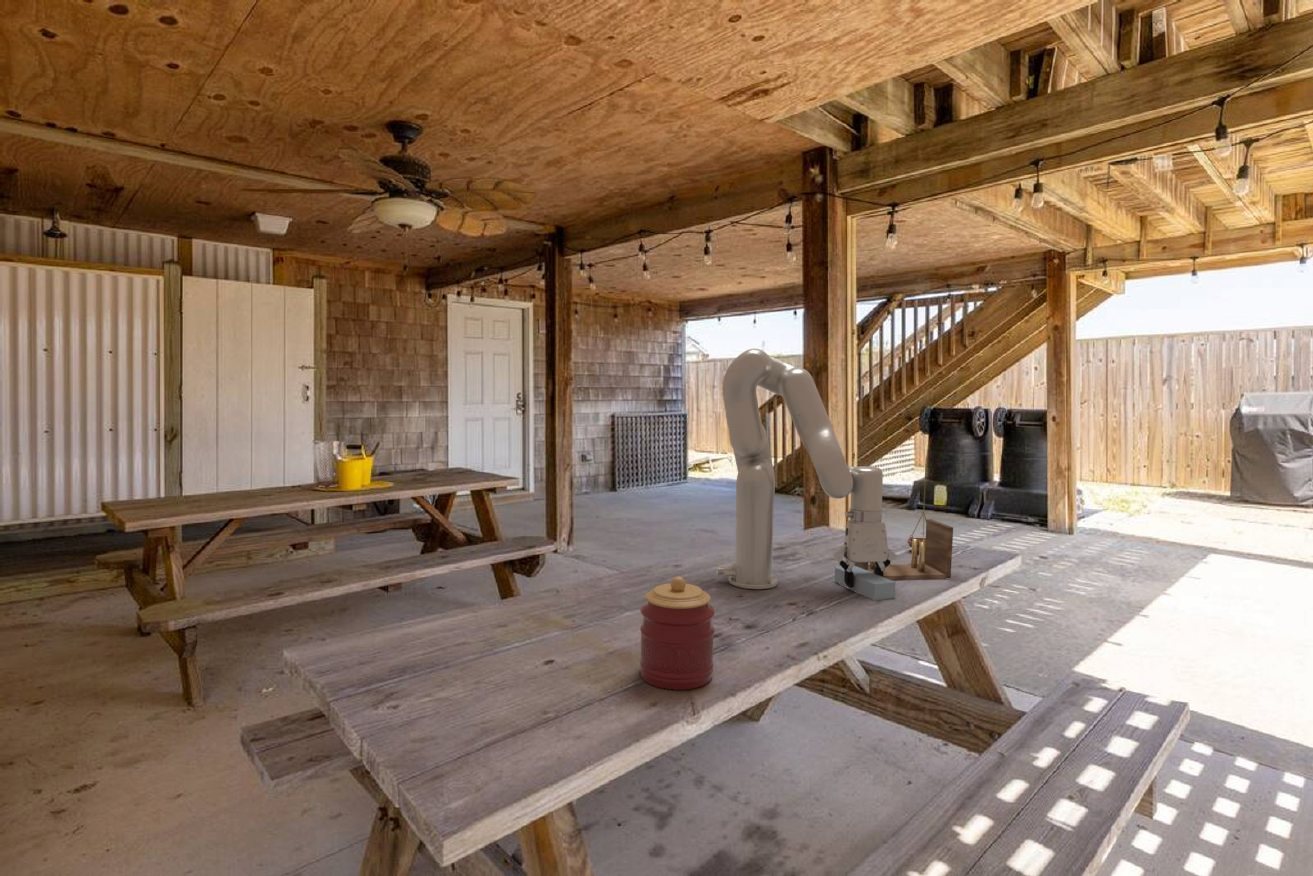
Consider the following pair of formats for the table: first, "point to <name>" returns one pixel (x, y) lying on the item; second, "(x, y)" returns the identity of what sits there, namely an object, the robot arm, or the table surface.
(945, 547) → the shelf frame
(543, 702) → the table surface
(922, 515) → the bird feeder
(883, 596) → the shelf board
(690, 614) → the canister
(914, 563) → the shelf pegs
